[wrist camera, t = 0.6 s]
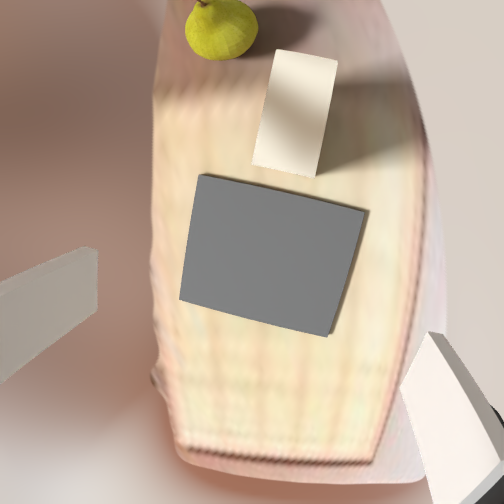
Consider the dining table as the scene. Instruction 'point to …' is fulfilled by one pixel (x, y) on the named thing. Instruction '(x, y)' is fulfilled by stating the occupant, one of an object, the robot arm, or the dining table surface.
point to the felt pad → (268, 254)
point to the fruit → (221, 29)
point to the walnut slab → (295, 113)
